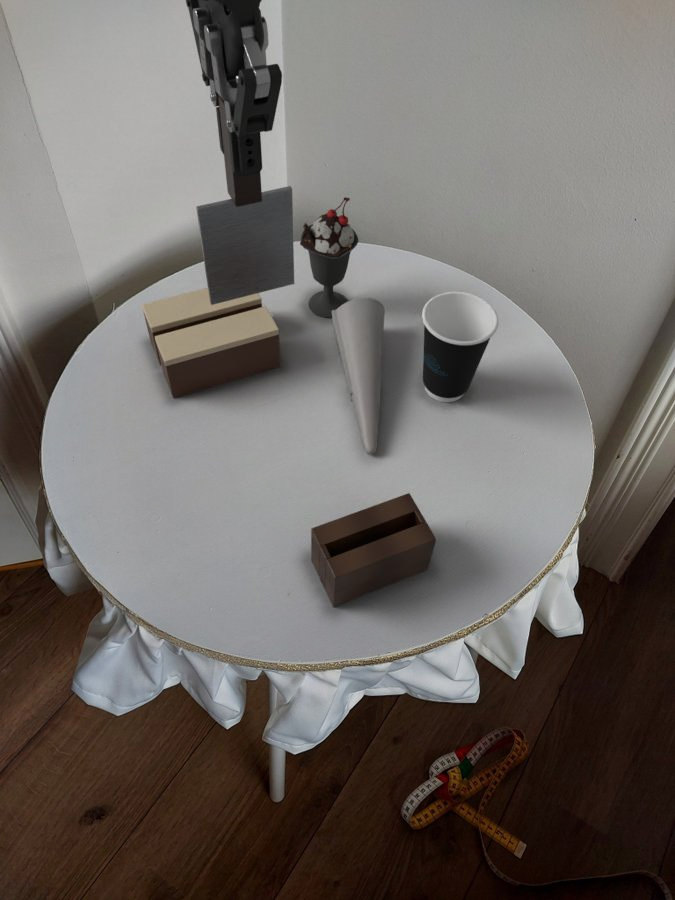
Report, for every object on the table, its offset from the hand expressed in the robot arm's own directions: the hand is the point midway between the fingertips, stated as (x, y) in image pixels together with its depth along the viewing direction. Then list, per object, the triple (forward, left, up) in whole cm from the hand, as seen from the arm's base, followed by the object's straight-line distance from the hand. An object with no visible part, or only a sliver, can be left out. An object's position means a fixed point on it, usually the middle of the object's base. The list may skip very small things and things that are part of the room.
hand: (241, 162), depth 56 cm
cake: (-2, +11, -31) cm, 33 cm away
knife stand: (+3, -21, -31) cm, 38 cm away
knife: (0, 0, -13) cm, 13 cm away
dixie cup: (+21, -4, -31) cm, 38 cm away
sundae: (+14, +14, -31) cm, 37 cm away
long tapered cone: (+13, -1, -31) cm, 34 cm away
